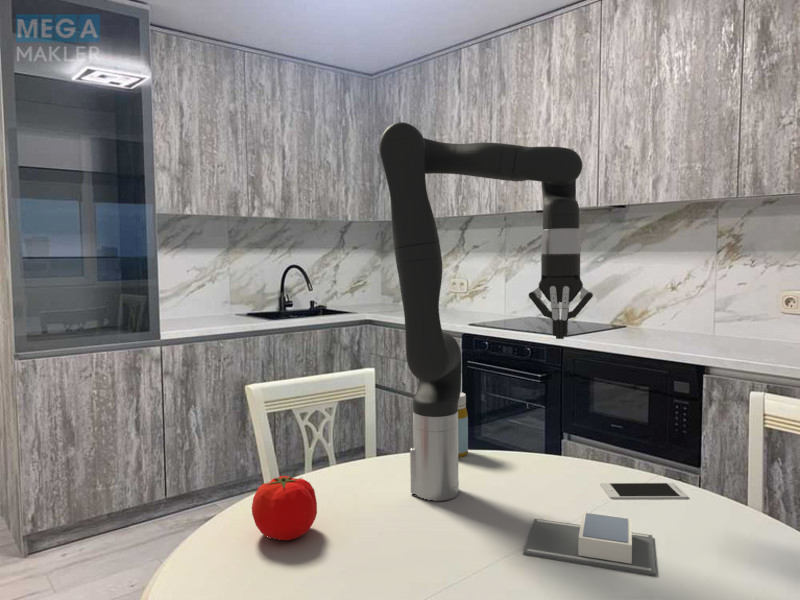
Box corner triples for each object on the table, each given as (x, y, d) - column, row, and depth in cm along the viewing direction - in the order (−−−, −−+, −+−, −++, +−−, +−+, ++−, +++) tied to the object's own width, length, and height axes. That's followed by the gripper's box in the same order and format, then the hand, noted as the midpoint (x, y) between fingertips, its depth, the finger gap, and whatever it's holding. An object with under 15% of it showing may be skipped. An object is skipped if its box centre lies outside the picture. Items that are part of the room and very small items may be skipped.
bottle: (470, 450, 148) (470, 391, 147) (464, 460, 142) (463, 398, 141) (443, 448, 151) (443, 390, 149) (436, 457, 144) (435, 396, 143)
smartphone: (599, 486, 125) (599, 482, 125) (673, 486, 125) (673, 482, 125) (610, 501, 118) (610, 496, 118) (688, 501, 118) (688, 496, 118)
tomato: (329, 539, 103) (327, 481, 103) (265, 557, 98) (263, 496, 97) (303, 514, 114) (301, 461, 113) (244, 529, 108) (242, 474, 107)
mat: (523, 554, 97) (523, 551, 97) (534, 520, 109) (534, 518, 109) (655, 576, 90) (655, 572, 90) (652, 537, 102) (652, 534, 102)
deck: (578, 536, 95) (631, 544, 92) (582, 511, 104) (631, 517, 102) (578, 556, 95) (631, 564, 93) (582, 529, 105) (631, 536, 102)
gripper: (524, 252, 117) (524, 340, 118) (594, 251, 112) (593, 342, 113) (529, 252, 124) (529, 334, 125) (596, 251, 119) (595, 337, 120)
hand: (560, 338), depth 119 cm, fingers closed
